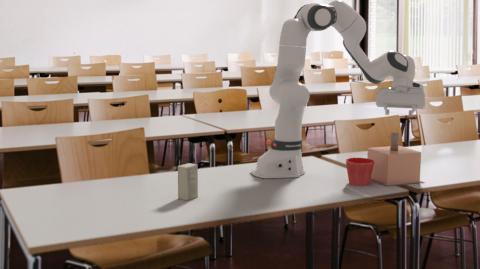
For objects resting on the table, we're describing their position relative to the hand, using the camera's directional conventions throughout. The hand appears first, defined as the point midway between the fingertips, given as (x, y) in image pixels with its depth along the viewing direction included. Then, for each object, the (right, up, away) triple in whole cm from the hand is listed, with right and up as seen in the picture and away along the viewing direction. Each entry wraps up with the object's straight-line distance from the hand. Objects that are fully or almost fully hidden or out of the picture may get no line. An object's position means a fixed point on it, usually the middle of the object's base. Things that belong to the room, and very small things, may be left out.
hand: (398, 114), depth 280 cm
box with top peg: (-4, -26, -7) cm, 28 cm away
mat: (-4, -27, -7) cm, 28 cm away
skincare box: (-84, -31, -35) cm, 97 cm away
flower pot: (-19, -28, -14) cm, 36 cm away
